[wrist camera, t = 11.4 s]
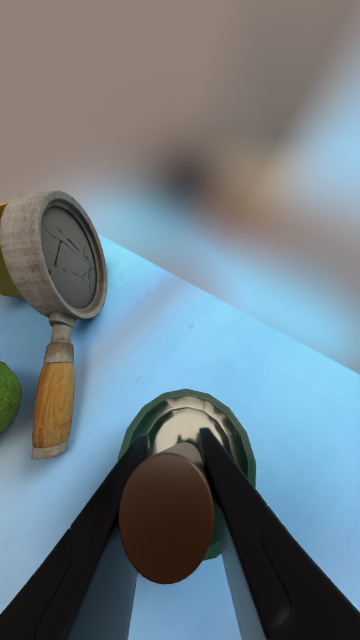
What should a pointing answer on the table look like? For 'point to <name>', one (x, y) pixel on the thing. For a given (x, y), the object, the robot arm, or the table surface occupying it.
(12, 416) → the fruit
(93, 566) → the robot arm
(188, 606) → the table surface
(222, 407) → the bowl
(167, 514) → the stirring stick
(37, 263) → the magnifying glass
